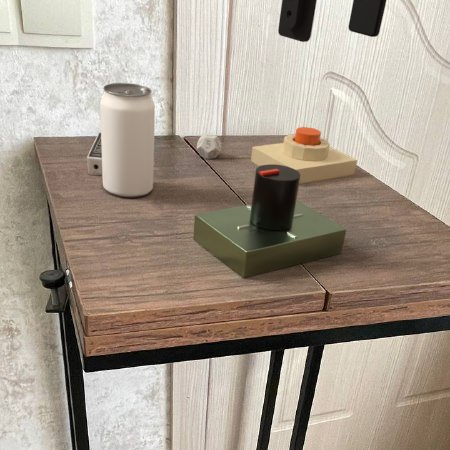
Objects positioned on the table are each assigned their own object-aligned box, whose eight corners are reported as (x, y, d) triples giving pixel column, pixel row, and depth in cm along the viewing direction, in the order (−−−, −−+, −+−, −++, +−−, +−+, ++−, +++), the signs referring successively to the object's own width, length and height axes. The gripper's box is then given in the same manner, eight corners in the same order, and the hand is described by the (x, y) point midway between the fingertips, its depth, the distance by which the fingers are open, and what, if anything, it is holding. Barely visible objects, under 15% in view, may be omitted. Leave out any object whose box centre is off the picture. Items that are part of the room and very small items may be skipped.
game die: (222, 160, 93) (224, 140, 91) (198, 160, 92) (199, 139, 90) (217, 152, 96) (219, 132, 94) (193, 152, 95) (195, 131, 93)
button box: (311, 153, 100) (315, 126, 97) (354, 174, 94) (360, 147, 91) (250, 161, 94) (253, 134, 91) (292, 185, 88) (296, 156, 85)
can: (162, 187, 83) (165, 89, 75) (135, 202, 78) (135, 100, 71) (121, 175, 85) (120, 79, 77) (92, 189, 80) (88, 88, 73)
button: (308, 138, 93) (310, 126, 92) (323, 146, 91) (326, 133, 90) (289, 140, 92) (291, 128, 91) (305, 148, 90) (307, 136, 88)
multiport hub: (129, 150, 93) (129, 134, 91) (120, 177, 84) (120, 159, 83) (99, 147, 93) (98, 131, 91) (87, 174, 84) (86, 157, 83)
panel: (287, 219, 79) (291, 195, 77) (341, 253, 72) (347, 227, 70) (193, 239, 72) (194, 212, 70) (243, 278, 66) (246, 250, 64)
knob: (274, 209, 73) (282, 159, 69) (301, 226, 70) (310, 174, 66) (241, 216, 71) (247, 164, 67) (267, 233, 68) (274, 180, 64)
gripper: (345, -265, 38) (296, 51, 49) (484, -212, 48) (418, 40, 59) (258, -261, 42) (230, 31, 53) (403, -213, 52) (355, 24, 63)
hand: (329, 35), depth 56 cm, fingers open, 9 cm apart
